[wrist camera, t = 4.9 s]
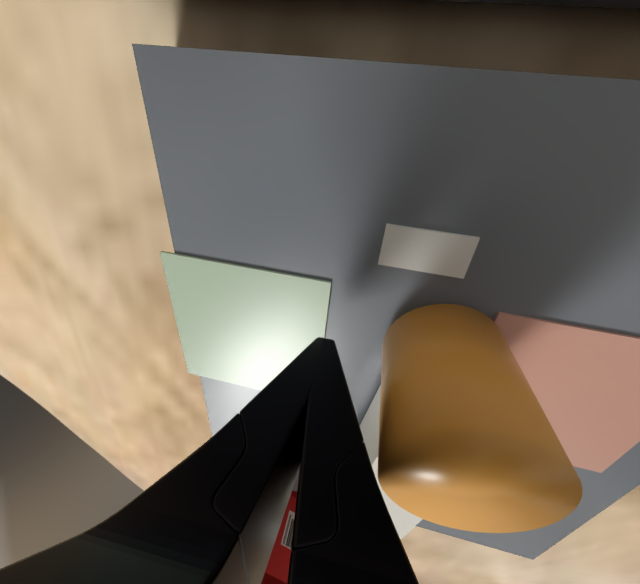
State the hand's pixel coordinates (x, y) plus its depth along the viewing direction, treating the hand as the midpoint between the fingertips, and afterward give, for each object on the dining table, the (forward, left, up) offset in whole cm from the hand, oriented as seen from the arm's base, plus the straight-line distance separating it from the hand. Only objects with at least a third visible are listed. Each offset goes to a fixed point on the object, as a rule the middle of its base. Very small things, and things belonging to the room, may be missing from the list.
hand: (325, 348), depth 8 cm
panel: (-3, +3, -3) cm, 5 cm away
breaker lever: (-3, +5, -1) cm, 6 cm away
